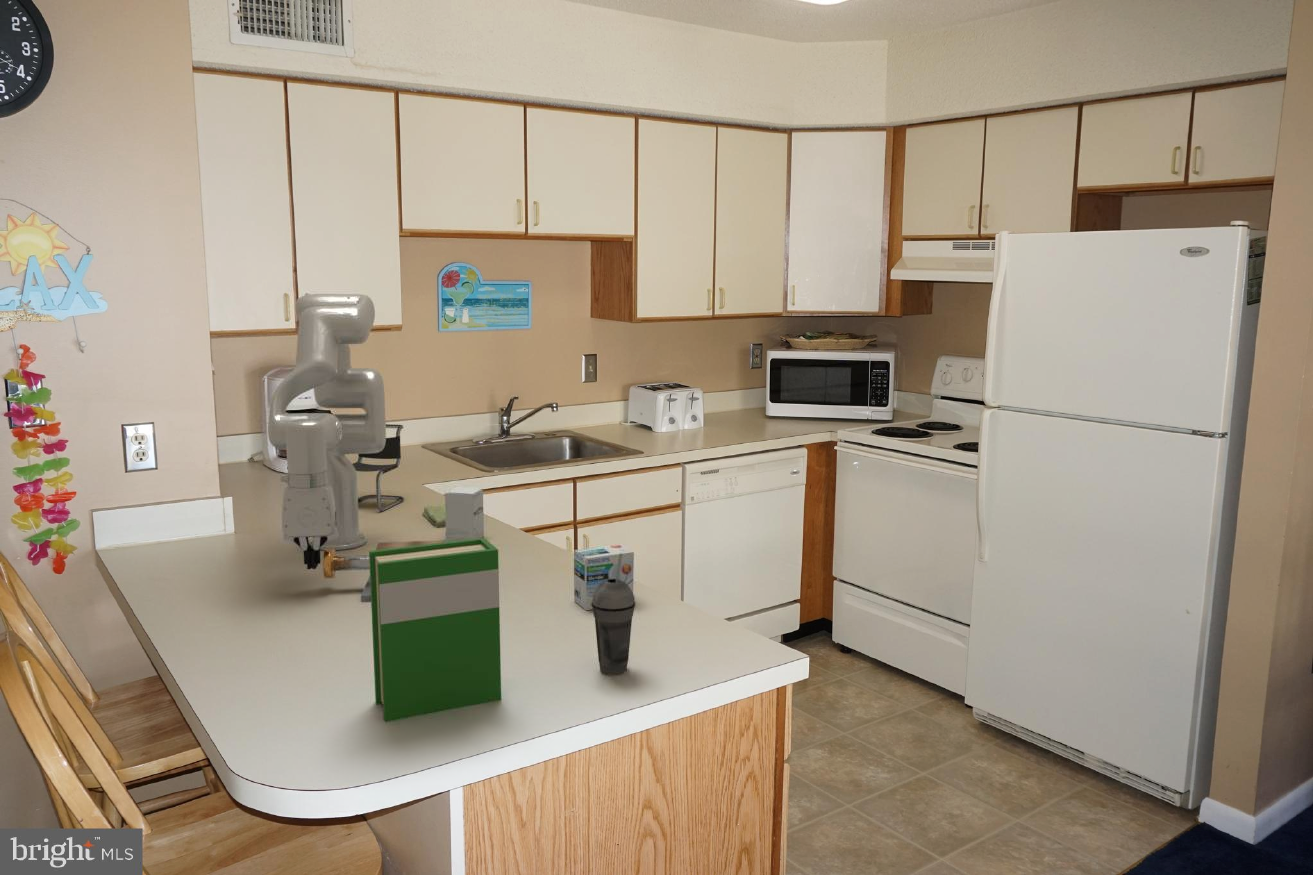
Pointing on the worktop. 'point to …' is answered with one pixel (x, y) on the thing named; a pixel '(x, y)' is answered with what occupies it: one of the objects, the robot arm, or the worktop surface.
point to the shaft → (343, 563)
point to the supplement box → (464, 514)
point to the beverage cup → (613, 623)
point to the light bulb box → (599, 570)
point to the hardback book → (435, 627)
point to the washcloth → (435, 515)
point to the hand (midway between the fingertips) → (312, 567)
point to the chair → (382, 466)
